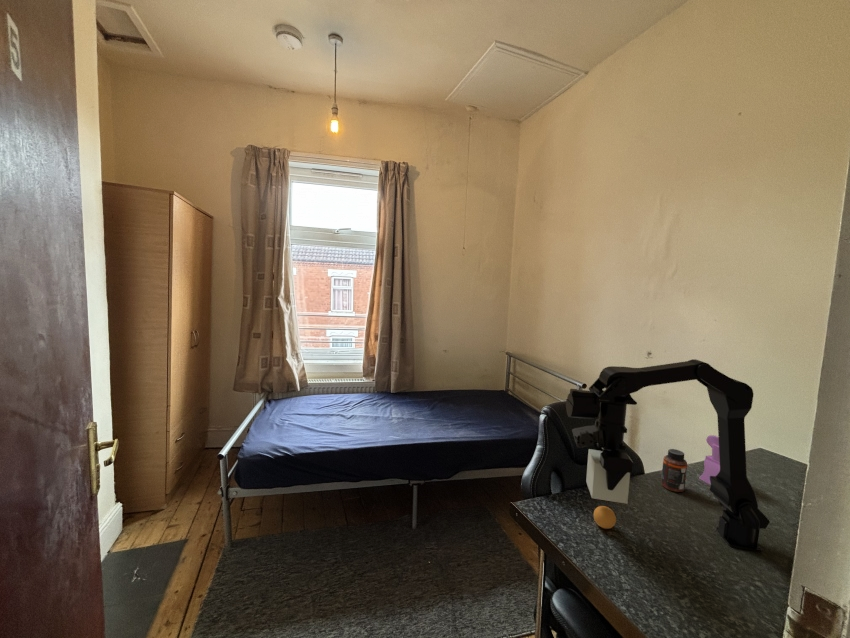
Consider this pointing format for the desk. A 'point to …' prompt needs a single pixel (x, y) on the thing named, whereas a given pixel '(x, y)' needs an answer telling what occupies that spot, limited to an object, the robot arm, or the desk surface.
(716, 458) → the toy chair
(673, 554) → the desk surface
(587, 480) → the plain beige cube
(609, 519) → the ball
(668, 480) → the supplement bottle
